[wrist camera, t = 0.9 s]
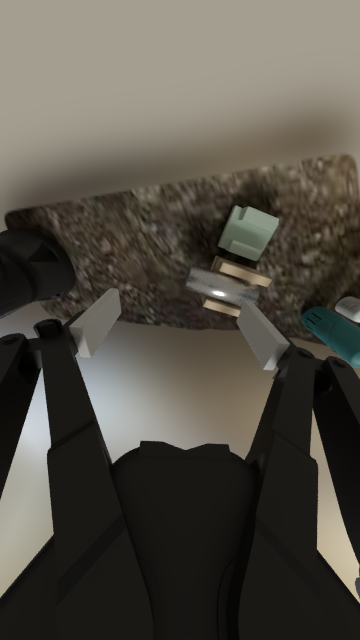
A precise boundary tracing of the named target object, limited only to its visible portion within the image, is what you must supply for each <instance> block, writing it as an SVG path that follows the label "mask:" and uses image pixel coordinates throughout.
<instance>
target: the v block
mask: <svg viewBox="0 0 360 640" xmlns="http://www.w3.org/2000/svg"><path fill="white" fill-rule="evenodd" d="M278 221H279V219H278V218H275V217H273V216H271V215H268V214H266V213H263V212H261V211H259V210H256V209H254V208H252V207H249V206H248V207H244V208H241V207H239V206H236V205H235V206H233V209H232V211H231V214H230V216H229V219H228V221H227V224H226V226H225V228H224V231H223V233H222V236H221V238H220V241H219V243H218V246H219V247H222V248H224V249H225V250H227V251H229V252H232V253H235V254H237V255H240V256H243V257H246V258H248V259H251V260H254V261H256V260H257V261H258V259H259V257H260V256H261V254H262V252H263V250H264V249H265V247H266V245H267V243H268V242H269V240H270V238H271V236H272V234H273V233H274V231H275V229H276V227H277V226H278V224H279V223H278Z"/></svg>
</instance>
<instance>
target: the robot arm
mask: <svg viewBox="0 0 360 640" xmlns="http://www.w3.org/2000/svg"><path fill="white" fill-rule="evenodd" d="M74 283H75V273H74V269H73V266H72V264H71V262H70V260H69V258H68V257H67V255H66V254H65V253H64V251H63V250H62V249H61V248H60V247H59V246H58V245H57V244H56V243H55V242H54V241H52V240H51V239H50V238H48V237H47V236H45V235H43V234H41V233H39V232H36V231H34V230H30V229H9V230H5V231H3V232H1V233H0V319H1V318H3V317H5V316H7V315H9V314H11V313H13V312H15V311H16V310H18V309H20V308H22V307H24V306H26V305H28V304H30V303H32V302H37V301H44V300H51V299H57V298H60V297H62V296H64V295H65V294H67V293H69V292H70V291H71V290H72V288H73V286H74ZM120 314H121V307H120V299H119V292H118V289H112V288H110V289H109V290H108V291H107V292H106V293H105V294H104V295H103V296H102V297H100V298H99V299H98V300H97V301H96V302H95V303H94V304H93V305H92V306H91V307H90V308H89V309H88V310H83V311H81V312H78V313H77V314H76V315H74V316H73V317H72V318H71V319H70V320H69V321H68V322H66V323H65V324H64V325H63V326H62V323H61V321H60V320H58V319H47V320H43V321H41V322H38V323H37V324H35V325H34V327H33V329H34V330H35V332H36V334H37V336H38V338H33V339H27V338H26V337H25V335H23V334H20V333H16V334H9V335H6V336H4V337H2V338H0V499H1V496H2V492H3V489H4V486H5V483H6V479H7V476H8V473H9V470H10V467H11V463H12V460H13V457H14V454H15V451H16V448H17V444H18V441H19V438H20V435H21V432H22V428H23V425H24V422H25V419H26V415H27V413H28V409H29V406H30V403H31V400H32V396H33V393H34V390H35V387H36V384H37V380H38V377H39V374H40V371H41V368H43V377H44V385H45V394H46V403H47V411H48V420H49V428H50V437H51V448H50V449H49V450H48V453H47V465H48V476H49V487H50V497H51V509H52V520H53V531H54V534H53V536H52V537H51V538H50V539H49V540H48V542H47V543H46V544H45V545H44V546H43V548H42V549H41V550H40V551H39V552H38V554H37V555H36V556H35V557H34V558H33V560H32V561H31V562H30V563H29V564H28V565H27V567H26V568H25V569H24V570H23V571H22V573H21V574H20V575H19V576H18V577H17V579H16V580H15V581H14V582H13V583H12V585H11V586H10V587H9V588H8V589H7V590H6V592H5V593H4V594H3V595H2V596H1V598H0V640H360V603H359V602H358V601H357V599H356V598H355V597H354V596H353V595H352V593H351V592H350V591H349V589H348V588H347V587H346V586H345V584H344V583H343V582H342V580H341V579H340V578H339V577H338V575H337V574H336V573H335V572H334V570H333V569H332V568H331V566H330V565H329V564H328V563H327V561H326V560H325V559H324V558H323V556H322V555H321V554H320V553H319V551H318V550H317V510H318V508H317V507H318V464H317V462H316V460H315V459H313V458H312V457H311V456H310V441H311V425H312V408H313V411H314V414H315V418H316V422H317V426H318V429H319V433H320V437H321V441H322V444H323V448H324V452H325V455H326V459H327V463H328V467H329V470H330V474H331V478H332V482H333V485H334V489H335V493H336V497H337V500H338V504H339V508H340V511H341V515H342V518H343V522H344V525H345V528H346V531H347V534H348V537H349V540H350V542H351V545H352V548H353V550H354V553H355V556H356V558H357V560H358V563H359V565H360V379H359V377H358V376H357V374H356V373H355V371H354V370H353V368H352V367H351V366H350V365H349V364H348V363H347V362H345V361H344V360H342V359H339V358H337V357H333V356H329V357H327V358H326V360H325V361H324V360H320V359H317V358H315V357H314V355H313V354H312V353H311V352H309V351H307V350H305V349H303V348H299V347H296V346H295V345H294V344H293V343H292V342H291V340H290V339H289V338H288V337H287V336H286V335H285V334H284V333H283V332H282V331H281V330H280V329H279V328H277V327H276V326H273V325H272V324H271V322H270V321H269V320H268V319H267V318H266V317H265V316H264V315H263V314H262V312H261V311H260V310H259V309H258V308H257V307H256V306H255V305H254V304H253V303H252V301H244V303H243V306H242V308H241V311H240V314H239V316H238V319H237V324H238V326H239V328H240V329H241V331H242V333H243V335H244V337H245V338H246V340H247V342H248V344H249V345H250V347H251V349H252V351H253V352H254V354H255V356H256V358H257V359H258V361H259V363H260V365H261V366H262V369H264V370H273V369H274V367H275V366H276V365H277V367H278V368H279V370H278V371H277V373H276V374H275V376H274V377H273V379H274V382H273V385H272V387H271V391H270V393H269V396H268V399H267V402H266V405H265V408H264V411H263V413H262V416H261V420H260V422H259V425H258V428H257V431H256V434H255V437H254V440H253V442H252V445H251V449H250V451H249V453H248V455H247V456H246V458H245V460H243V459H242V458H241V457H239V456H238V455H236V454H234V453H232V452H230V449H229V445H228V444H204V445H201V446H198V447H195V448H191V449H188V450H183V449H180V448H178V447H175V446H173V445H170V444H167V443H165V442H159V441H141V442H140V447H138V448H135V449H133V450H131V451H129V452H127V453H125V454H124V455H123V456H121V457H120V458H119V459H118V460H117V461H115V463H112V461H111V458H110V455H109V452H108V450H107V447H106V444H105V442H104V439H103V436H102V433H101V430H100V427H99V424H98V421H97V418H96V415H95V412H94V409H93V407H92V404H91V401H90V398H89V395H88V392H87V389H86V386H85V383H84V380H83V377H82V374H81V371H80V369H79V366H78V363H77V360H76V357H75V355H76V354H77V352H79V355H80V357H87V358H91V357H92V356H93V354H94V353H95V351H96V350H97V348H98V347H99V345H100V343H101V342H102V341H103V339H104V338H105V336H106V335H107V333H108V332H109V330H110V329H111V327H112V326H113V324H114V323H115V321H116V320H117V318H118V317H119V315H120ZM359 576H360V567H359ZM355 586H356V590H357V593H358V595H359V598H360V577H359V578H356V581H355Z"/></svg>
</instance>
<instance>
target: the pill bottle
mask: <svg viewBox="0 0 360 640" xmlns="http://www.w3.org/2000/svg"><path fill="white" fill-rule="evenodd" d="M335 310H336V311H338V312H339V313H341V314H343V315H345V316H346V317H348V318H350V319H352V320H354V321H356V322H360V300H359V299H357V298H354V297H345V298H343V299H341V300H340V301H338V302H337V304H336V306H335Z"/></svg>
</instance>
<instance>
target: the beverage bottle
mask: <svg viewBox="0 0 360 640" xmlns="http://www.w3.org/2000/svg"><path fill="white" fill-rule="evenodd" d="M301 321H302V324H303V325H304V327H306V328H308V329H309V330H310V332H311V333H313V334H314V335H316V336H317V338H318V339H319V338H320V339H321V340H322V341H323V342H324V343H325V344H327V345H328V346H329V347H330V348H332V349H333V350H334V351H335V352H336V353H337V354H339V355H340V356H342V357H343V358H344V359H345V360H347V361H348V362H349V363H350V365H352V366H353V367H355V368H360V328H359V327H358V326H356V325H354V324H353V323H352V322H349V321H348V319H347V320H346V319H344V318H343V317H341V316H339V315H338V314H336V313H334V312H332V311H331V310H329V309H327V308H325V307H322V306H317V307H313V308H311V309H309V310H307V311H306V312H305V313H304V314H303V316H302V318H301Z"/></svg>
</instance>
